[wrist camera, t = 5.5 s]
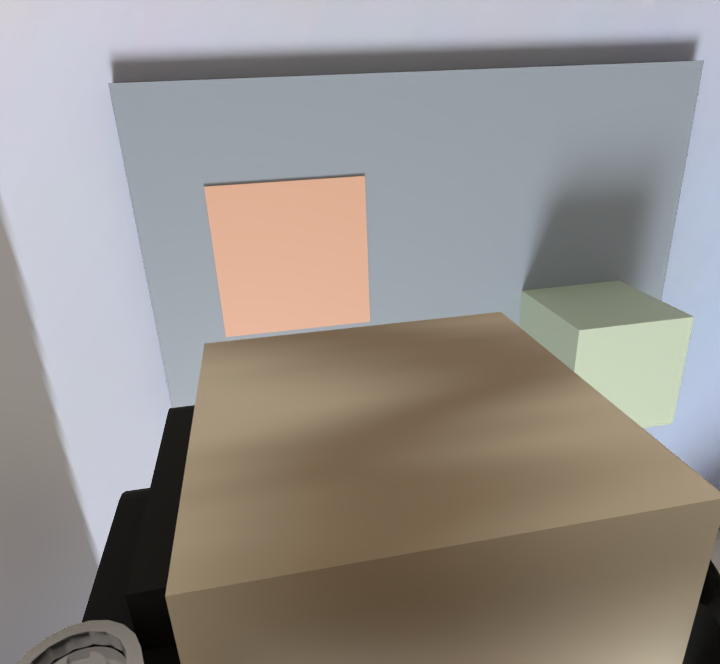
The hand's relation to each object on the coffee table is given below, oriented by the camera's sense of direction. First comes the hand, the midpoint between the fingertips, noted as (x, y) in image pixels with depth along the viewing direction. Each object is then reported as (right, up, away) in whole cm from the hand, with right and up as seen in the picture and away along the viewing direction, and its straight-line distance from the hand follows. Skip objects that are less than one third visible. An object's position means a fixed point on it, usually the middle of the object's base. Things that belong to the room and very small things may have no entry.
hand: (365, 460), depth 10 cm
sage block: (+10, +2, +18) cm, 20 cm away
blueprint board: (+3, +6, +15) cm, 17 cm away
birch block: (0, 0, 0) cm, 0 cm away
